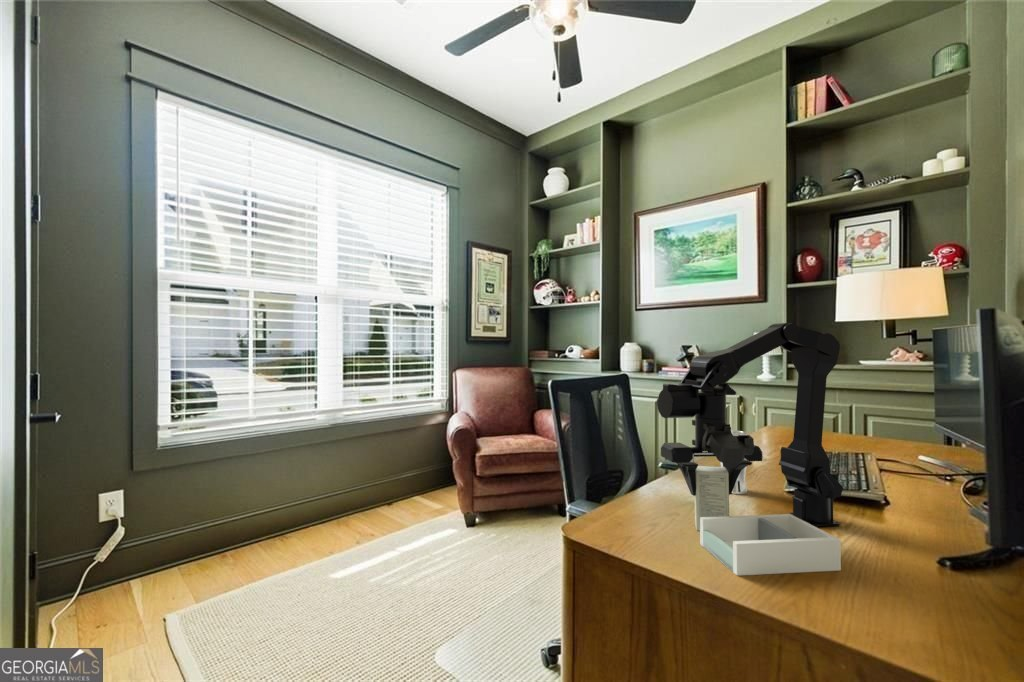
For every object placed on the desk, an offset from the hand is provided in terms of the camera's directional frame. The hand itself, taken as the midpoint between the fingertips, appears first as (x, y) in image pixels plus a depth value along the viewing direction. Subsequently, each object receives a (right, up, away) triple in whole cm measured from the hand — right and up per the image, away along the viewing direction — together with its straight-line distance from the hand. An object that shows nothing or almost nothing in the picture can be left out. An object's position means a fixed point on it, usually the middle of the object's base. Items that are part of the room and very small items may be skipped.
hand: (710, 494), depth 86 cm
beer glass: (+17, -8, +24) cm, 30 cm away
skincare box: (0, -7, 0) cm, 7 cm away
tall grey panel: (+6, -6, -12) cm, 14 cm away
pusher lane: (+4, -7, -12) cm, 14 cm away
